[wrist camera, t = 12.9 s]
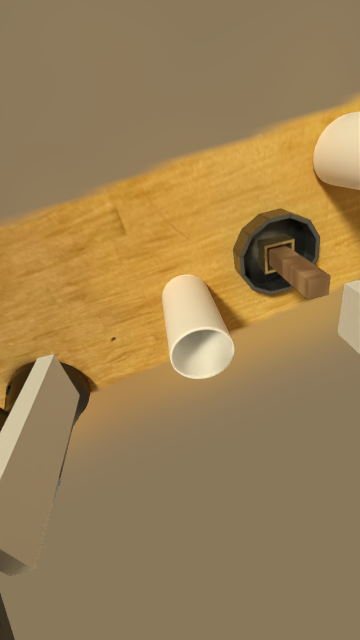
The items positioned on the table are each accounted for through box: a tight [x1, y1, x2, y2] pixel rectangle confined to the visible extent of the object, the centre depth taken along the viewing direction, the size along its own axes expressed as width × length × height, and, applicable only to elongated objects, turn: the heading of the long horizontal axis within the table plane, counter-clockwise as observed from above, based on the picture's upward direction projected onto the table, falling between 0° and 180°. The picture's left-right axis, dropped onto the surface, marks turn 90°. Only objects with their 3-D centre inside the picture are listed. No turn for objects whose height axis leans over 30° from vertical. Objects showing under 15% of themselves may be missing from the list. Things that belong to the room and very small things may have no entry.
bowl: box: [233, 209, 320, 295], centre depth 43 cm, size 12×12×4 cm
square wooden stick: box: [267, 244, 330, 300], centre depth 38 cm, size 3×3×14 cm
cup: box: [162, 275, 235, 379], centre depth 40 cm, size 8×8×16 cm
